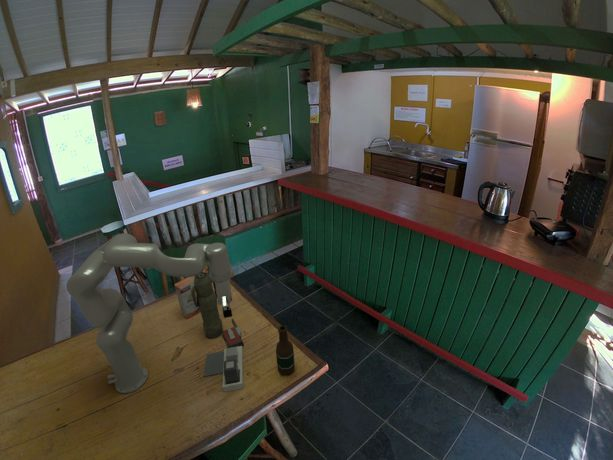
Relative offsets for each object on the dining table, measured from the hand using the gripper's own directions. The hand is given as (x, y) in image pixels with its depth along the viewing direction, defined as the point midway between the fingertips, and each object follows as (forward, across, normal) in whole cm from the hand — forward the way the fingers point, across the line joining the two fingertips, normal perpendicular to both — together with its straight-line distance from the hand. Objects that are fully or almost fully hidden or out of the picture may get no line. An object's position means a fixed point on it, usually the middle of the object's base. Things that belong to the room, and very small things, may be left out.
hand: (228, 308), depth 127 cm
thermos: (+31, -22, -11) cm, 40 cm away
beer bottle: (+31, +9, +20) cm, 38 cm away
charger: (+29, +10, -2) cm, 31 cm away
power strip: (+31, +4, -2) cm, 31 cm away
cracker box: (+31, -41, -22) cm, 56 cm away
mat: (+31, -2, -11) cm, 33 cm away
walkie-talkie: (+32, -17, -3) cm, 36 cm away
